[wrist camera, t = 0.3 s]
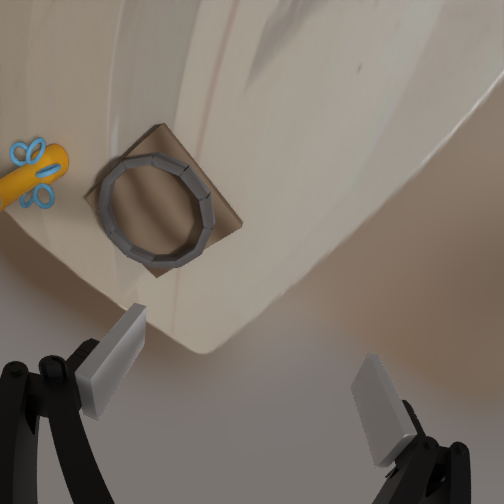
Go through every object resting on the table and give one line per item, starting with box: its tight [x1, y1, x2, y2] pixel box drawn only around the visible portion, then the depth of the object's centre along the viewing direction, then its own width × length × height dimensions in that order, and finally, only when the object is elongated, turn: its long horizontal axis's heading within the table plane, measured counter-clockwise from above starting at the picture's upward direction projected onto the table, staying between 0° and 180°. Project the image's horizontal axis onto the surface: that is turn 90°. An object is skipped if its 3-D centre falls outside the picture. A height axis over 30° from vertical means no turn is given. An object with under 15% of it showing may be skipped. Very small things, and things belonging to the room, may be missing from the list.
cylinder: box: [0, 138, 69, 212], centre depth 33 cm, size 12×10×15 cm
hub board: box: [86, 123, 243, 278], centre depth 41 cm, size 18×18×4 cm
